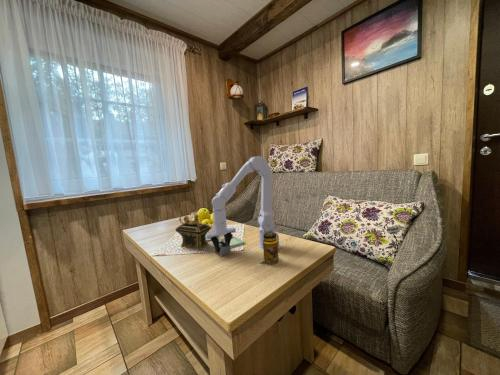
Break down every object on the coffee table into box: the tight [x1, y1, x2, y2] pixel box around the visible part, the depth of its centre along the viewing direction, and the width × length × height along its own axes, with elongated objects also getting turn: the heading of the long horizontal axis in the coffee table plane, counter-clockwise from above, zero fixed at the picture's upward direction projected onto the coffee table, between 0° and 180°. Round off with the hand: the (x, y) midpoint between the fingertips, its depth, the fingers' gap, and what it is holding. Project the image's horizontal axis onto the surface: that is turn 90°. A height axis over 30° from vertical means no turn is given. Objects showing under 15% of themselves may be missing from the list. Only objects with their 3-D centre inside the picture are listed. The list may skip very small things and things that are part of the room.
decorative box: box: [175, 208, 212, 251], centre depth 112 cm, size 20×10×20 cm, turn 61°
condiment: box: [259, 232, 283, 267], centre depth 89 cm, size 7×8×12 cm
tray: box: [218, 234, 246, 249], centre depth 112 cm, size 13×10×2 cm
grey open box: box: [214, 241, 232, 258], centre depth 101 cm, size 9×4×4 cm, turn 33°
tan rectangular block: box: [213, 243, 233, 259], centre depth 100 cm, size 9×6×4 cm, turn 33°
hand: (222, 250), depth 100 cm, fingers closed on grey open box, 4 cm apart
